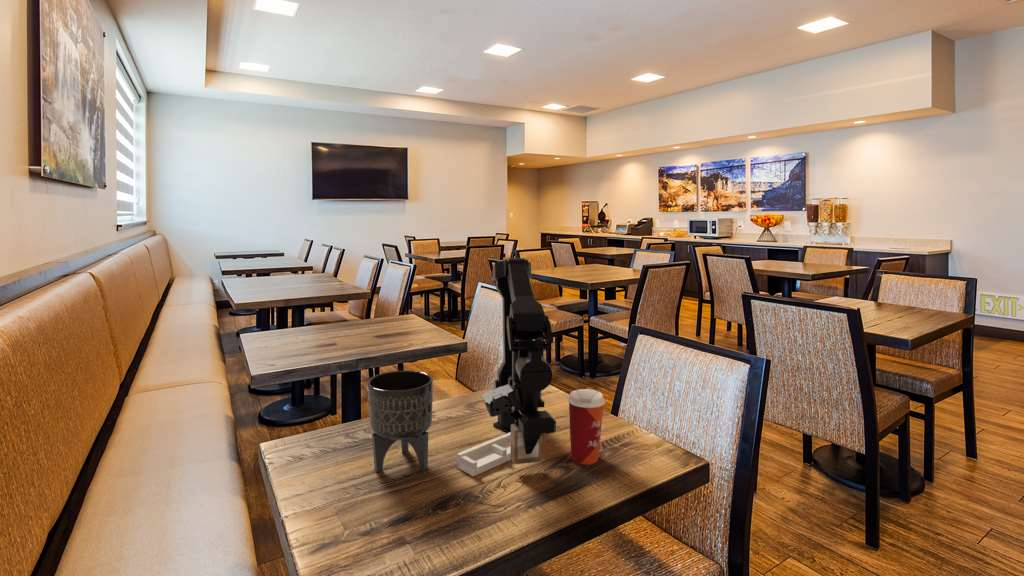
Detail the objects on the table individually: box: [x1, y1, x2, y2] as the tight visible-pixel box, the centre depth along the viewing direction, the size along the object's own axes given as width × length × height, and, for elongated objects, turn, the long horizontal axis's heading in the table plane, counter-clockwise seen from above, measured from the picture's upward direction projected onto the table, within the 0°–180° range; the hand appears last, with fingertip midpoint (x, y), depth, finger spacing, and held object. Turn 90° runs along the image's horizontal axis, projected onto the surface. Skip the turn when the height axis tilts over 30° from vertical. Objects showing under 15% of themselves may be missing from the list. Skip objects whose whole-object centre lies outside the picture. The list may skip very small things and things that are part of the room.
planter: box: [366, 370, 434, 473], centre depth 109 cm, size 13×13×18 cm
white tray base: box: [456, 432, 512, 477], centre depth 113 cm, size 5×17×3 cm, turn 134°
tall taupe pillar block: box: [511, 424, 543, 465], centre depth 106 cm, size 6×3×7 cm, turn 104°
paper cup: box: [567, 388, 606, 466], centre depth 112 cm, size 8×8×14 cm
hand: (526, 449), depth 107 cm, fingers closed on tall taupe pillar block, 3 cm apart
